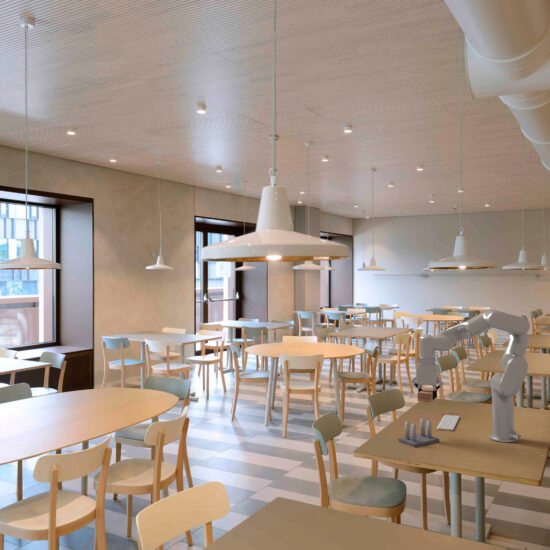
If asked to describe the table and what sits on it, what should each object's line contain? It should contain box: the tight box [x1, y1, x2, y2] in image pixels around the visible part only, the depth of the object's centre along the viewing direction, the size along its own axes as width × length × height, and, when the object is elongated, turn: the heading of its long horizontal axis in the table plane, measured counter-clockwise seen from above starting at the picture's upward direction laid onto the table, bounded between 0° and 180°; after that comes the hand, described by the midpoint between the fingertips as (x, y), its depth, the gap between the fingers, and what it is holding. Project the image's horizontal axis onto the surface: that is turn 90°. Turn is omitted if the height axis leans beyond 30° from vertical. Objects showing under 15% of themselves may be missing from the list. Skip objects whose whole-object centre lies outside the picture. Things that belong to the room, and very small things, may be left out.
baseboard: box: [435, 412, 460, 432], centre depth 296 cm, size 30×3×10 cm
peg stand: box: [397, 418, 440, 448], centre depth 263 cm, size 11×16×10 cm
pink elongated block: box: [417, 387, 438, 403], centre depth 267 cm, size 14×6×4 cm, turn 150°
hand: (427, 397), depth 267 cm, fingers closed on pink elongated block, 6 cm apart
